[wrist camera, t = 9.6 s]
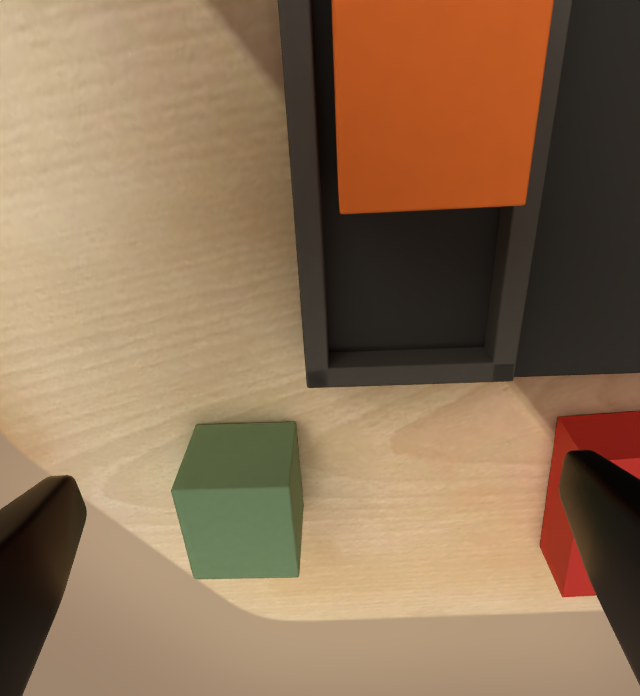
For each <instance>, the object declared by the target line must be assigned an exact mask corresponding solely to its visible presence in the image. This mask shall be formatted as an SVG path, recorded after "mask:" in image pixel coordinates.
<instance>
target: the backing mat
mask: <svg viewBox="0 0 640 696" xmlns="http://www.w3.org/2000/svg"><path fill="white" fill-rule="evenodd" d="M278 9H279V22H280V36H281V49H282V62H283V75H284V89H285V102H286V115H287V128H288V142H289V155H290V168H291V181H292V195H293V208H294V221H295V234H296V248H297V261H298V274H299V287H300V301H301V314H302V327H303V340H304V354H305V367H306V380H307V387H308V388H322V387H353V386H383V385H413V384H444V383H474V382H504V381H513V378H514V377H529V376H559V375H589V374H619V373H640V0H554V3H553V11H552V18H551V25H550V32H549V39H548V46H547V54H546V61H545V68H544V75H543V82H542V89H541V97H540V104H539V111H538V118H537V125H536V132H535V140H534V147H533V154H532V161H531V168H530V175H529V183H528V190H527V197H526V203H525V205H522V206H502V207H482V208H462V209H441V210H421V211H400V212H380V213H359V214H341V213H340V209H339V194H338V177H337V149H336V120H335V92H334V63H333V35H332V7H331V0H278Z"/></svg>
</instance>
